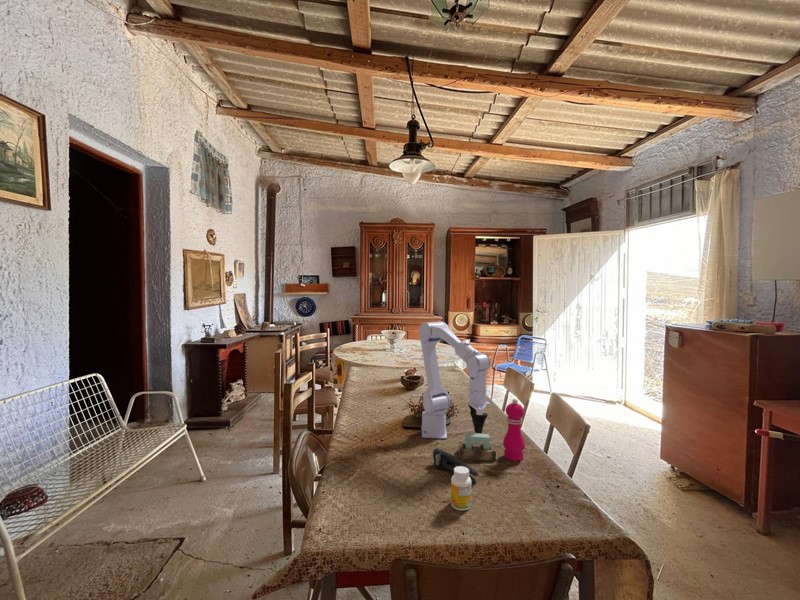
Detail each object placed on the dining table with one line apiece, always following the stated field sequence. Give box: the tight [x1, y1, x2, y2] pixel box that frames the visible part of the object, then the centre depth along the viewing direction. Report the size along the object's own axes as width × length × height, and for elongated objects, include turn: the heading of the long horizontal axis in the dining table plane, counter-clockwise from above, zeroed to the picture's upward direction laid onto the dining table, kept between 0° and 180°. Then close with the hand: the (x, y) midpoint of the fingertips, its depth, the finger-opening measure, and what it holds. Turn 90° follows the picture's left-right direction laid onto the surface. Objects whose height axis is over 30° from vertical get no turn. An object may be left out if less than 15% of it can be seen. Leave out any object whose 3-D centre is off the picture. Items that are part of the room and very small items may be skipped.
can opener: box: [432, 447, 479, 485], centre depth 117 cm, size 18×7×6 cm, turn 38°
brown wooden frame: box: [458, 441, 497, 462], centre depth 129 cm, size 12×6×3 cm, turn 84°
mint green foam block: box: [464, 432, 491, 450], centre depth 129 cm, size 8×3×7 cm, turn 84°
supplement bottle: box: [450, 466, 473, 512], centre depth 100 cm, size 5×5×10 cm
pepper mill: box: [502, 398, 526, 462], centre depth 128 cm, size 7×7×20 cm
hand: (477, 428), depth 129 cm, fingers open, 7 cm apart
